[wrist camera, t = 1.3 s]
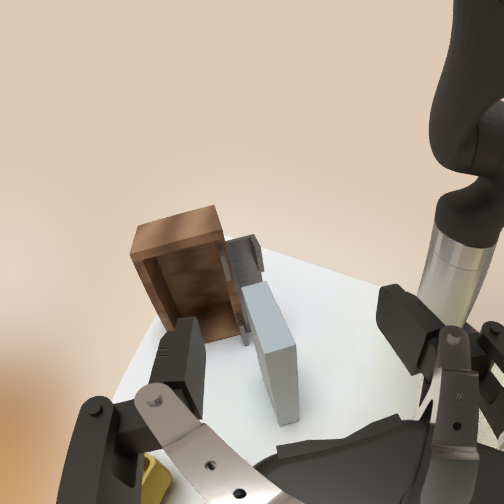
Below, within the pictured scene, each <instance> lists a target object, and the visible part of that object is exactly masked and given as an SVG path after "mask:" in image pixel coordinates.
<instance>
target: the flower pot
mask: <svg viewBox="0 0 504 504" xmlns="http://www.w3.org/2000/svg"><path fill="white" fill-rule="evenodd" d="M171 479H172V477H171V473H170V472H169V471H168V469H166V468H165V467H164V466H163V465H162V464H161V463H160V462H159V461H158V460H156V459H155V458H154V457H153V456H151V455H149V454H147V453H145V454H144V465H143V477H142V493H141V504H160V502H161V500H162V498H163V496H164V494H165V492H166V490H167V489H168V487H169V485H170V483H171Z"/></svg>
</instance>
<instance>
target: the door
mask: <svg viewBox="0 0 504 504" xmlns="http://www.w3.org/2000/svg"><path fill="white" fill-rule="evenodd" d="M241 289H242V293H243V297H244V302H245V306H246V310H247V314H248V319H249V323H250V327H251V331H252V335H253V339H254V343H255V348H256V352H257V356H258V360H259V364H260V368H261V372H262V376H263V379H264V382H265V385H266V388H267V391H268V394H269V397H270V399H271V402H272V405H273V408H274V411H275V414H276V417H277V420H278V422H279V425H280V427H281V426H284V425H287V424H290V423H293V422H296V421H299V395H298V372H297V352H296V343H295V341H294V339H293V337H292V335H291V332H290V330H289V328H288V326H287V324H286V322H285V320H284V318H283V316H282V313H281V311H280V309H279V307H278V305H277V303H276V301H275V299H274V297H273V294H272V292H271V290H270V288H269V286H268V284H267V282H266V281H263V282H260V283H256V284H253V285H249V286H245V287H242V288H241Z"/></svg>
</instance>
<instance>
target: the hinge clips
mask: <svg viewBox="0 0 504 504" xmlns="http://www.w3.org/2000/svg"><path fill="white" fill-rule="evenodd" d="M225 243H226V247H227V252H228V256H229V260H230V264H231V268H232V273H233V277H234V279H233V280H234V281H235V285H236V289H237V293H238V297H239V301H240V305H241V309H242V313H243V317H244V321H245V324H246V328H247V332H250V331H251V327H250V323H249V319H248V314H247V310H246V306H245V302H244V297H243V293H242V289H241V288H242V287H245V286H249V285H253V284H256V283H260V282H263V281H262V275H261V272H264V265H263V259H262V253H261V246H260V245H259V243H258V241H257V239H256V237H255V235H254V234H252V235H249V236H245V237H241V238H237V239H233V240H229V241H225ZM218 250H219V254H220V258H221V262H222V266H223V269H224V273H225V277H226V280H227V281H231V280H232V279H231V275H230V271H229V267H228V263H227V259H226V255H225V252H224V248H223V245H219V246H218ZM230 288H231V287H230ZM231 290H232V289H231ZM231 290H230V291H231ZM230 291H229V292H230ZM231 292H232V291H231ZM230 294H231V293H230ZM235 296H236V295H235ZM235 302H236V301H235ZM233 304H234V303H233ZM236 312H237V311H236ZM236 317H237V321H238V324H239V328H240V331H241V335H242V338H243V342H244V345H245V346H247V345H249V344H248V340H247V337H246V332H245V331H246V330H245V329H244V325H243V322H242V319H241V318H242V317H241V316H240V313H238V314H236Z"/></svg>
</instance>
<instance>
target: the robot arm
mask: <svg viewBox="0 0 504 504" xmlns="http://www.w3.org/2000/svg"><path fill="white" fill-rule="evenodd" d="M503 98H504V0H454V2H453V24H452V32H451V39H450V45H449V50H448V54H447V57H446V61H445V65H444V67H443V71H442V74H441V77H440V80H439V83H438V86H437V90H436V93H435V96H434V99H433V103H432V108H431V112H430V120H429V140H430V146H431V149H432V152H433V154H434V156H435V158H436V160H437V161H438V162H439V163H440V164H441V165H442V166H444V167H445V168H447V169H450V170H452V171H455V172H459V173H465V174H470V175H475V176H479V177H478V178H477V180H476V181H475V182H474V183H472V184H471V185H469V186H468V187H465V188H463V189H460V190H456V191H452V192H449V193H446V194H444V195H443V196H441V197H440V199H439V200H438V203H437V206H436V212H435V219H434V224H433V230H432V235H431V241H430V246H429V250H428V255H427V259H426V263H425V267H424V271H423V275H422V279H421V282H420V286H419V290H418V293H417V296H415V295H413V294H411V293H409V292H405V291H404V290H403V289H402V288H401V287H400V286H399V285H398V284H392V285H388V286H383V287H381V288H380V290H379V297H378V305H377V312H376V322H377V326H378V328H379V329H380V331H381V332H382V334H383V335H384V336H385V338H386V339H387V341H388V342H389V343H390V345H391V346H392V348H393V349H394V351H395V352H396V354H397V355H398V356H399V358H400V359H401V361H402V362H403V364H404V365H405V367H406V368H407V370H408V371H409V373H410V374H411V376H413V375H416V374H418V373H422V374H423V377H422V379H421V384H420V390H419V395H418V400H417V405H416V410H415V414H414V417H413V420H401V419H400V417H399V415H398V413H397V414H394V415H392V416H389V417H387V418H384V419H381V420H378V421H375V422H372V423H370V424H369V425H367V426H365V427H364V428H362V429H360V430H358V431H357V432H355V433H353V434H351V435H350V436H348V437H346V438H343V439H330V440H306V441H301V442H296V443H290V444H285V445H278V446H276V448H277V454H274V455H272V456H269V457H267V458H265V459H263V460H262V461H260V462H258V463H257V464H256V465H254V466H253V467H252V466H251V465H250V464H248V463H247V462H246V461H245V460H244V459H243V458H242V457H240V456H239V455H238V454H237V453H236V452H235V451H234V450H233V449H232V448H231V447H230V446H228V445H227V444H226V443H225V442H224V441H223V440H222V439H221V438H220V437H219V436H218V435H217V434H216V433H215V432H214V431H213V430H212V429H211V428H210V427H209V426H208V425H207V424H205V423H203V424H202V423H201V422H200V421H199V420H200V419H202V415H203V396H204V379H205V365H206V351H205V345H204V342H203V338H202V335H201V331H200V328H199V324H198V321H197V318H196V317H187V318H178V319H177V323H176V327H175V331H167V332H166V334H165V335H164V336H163V337H162V338H161V340H160V343H159V347H158V350H157V354H156V358H155V361H154V365H153V368H152V372H151V376H150V380H149V384H148V385H146V386H144V387H142V388H141V389H140V390H139V391H138V392H137V394H136V396H135V399H132V400H129V401H125V402H121V403H116V404H113V403H112V402H111V401H110V399H108V398H107V397H104V396H95V397H92V398H90V399H88V400H87V401H86V402H85V403H84V404H83V405H82V407H81V409H80V412H79V415H78V418H77V421H76V424H75V428H74V431H73V434H72V438H71V441H70V445H69V449H68V452H67V456H66V460H65V464H64V468H63V472H62V476H61V481H60V486H59V491H58V496H57V501H56V504H141V493H142V477H143V465H144V454H145V452H150V451H154V450H158V449H163V450H164V451H165V452H166V454H167V455H168V456H169V458H170V459H171V460H172V462H173V463H174V464H175V466H176V467H177V468H178V469H179V471H180V472H181V473H182V474H183V475H184V477H185V478H186V479H187V480H188V481H189V483H190V484H191V485H192V486H193V487H194V488H195V489H196V491H197V492H198V493H199V494H200V495H201V496H202V497H203V498H204V499H205V500H206V501H207V502H208V503H209V504H504V388H503V387H502V386H501V384H500V383H499V381H498V380H497V379H496V377H495V376H494V375H493V373H492V372H491V369H492V367H493V365H494V363H496V365H497V366H498V367H499V368H500V370H501V371H502V372H503V373H504V326H503V325H501V324H500V323H497V322H494V321H488V322H486V323H484V324H483V326H482V329H481V331H480V333H473V334H467V332H466V331H465V330H464V329H462V328H463V326H464V324H465V322H466V320H467V318H468V316H469V314H470V312H471V310H472V307H473V305H474V303H475V301H476V299H477V296H478V294H479V292H480V289H481V287H482V284H483V282H484V279H485V277H486V274H487V271H488V269H489V266H490V263H491V260H492V257H493V254H494V251H495V248H496V244H497V241H498V238H499V234H500V232H501V230H502V228H503V227H504V102H503V101H501V99H503ZM479 408H480V410H481V411H482V413H483V415H484V416H485V418H486V420H487V421H488V423H489V425H490V427H491V428H492V430H493V432H494V434H495V435H496V437H497V439H498V447H497V449H495V448H492V447H489V446H486V445H483V444H480V443H478V442H477V434H478V419H479Z"/></svg>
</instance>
